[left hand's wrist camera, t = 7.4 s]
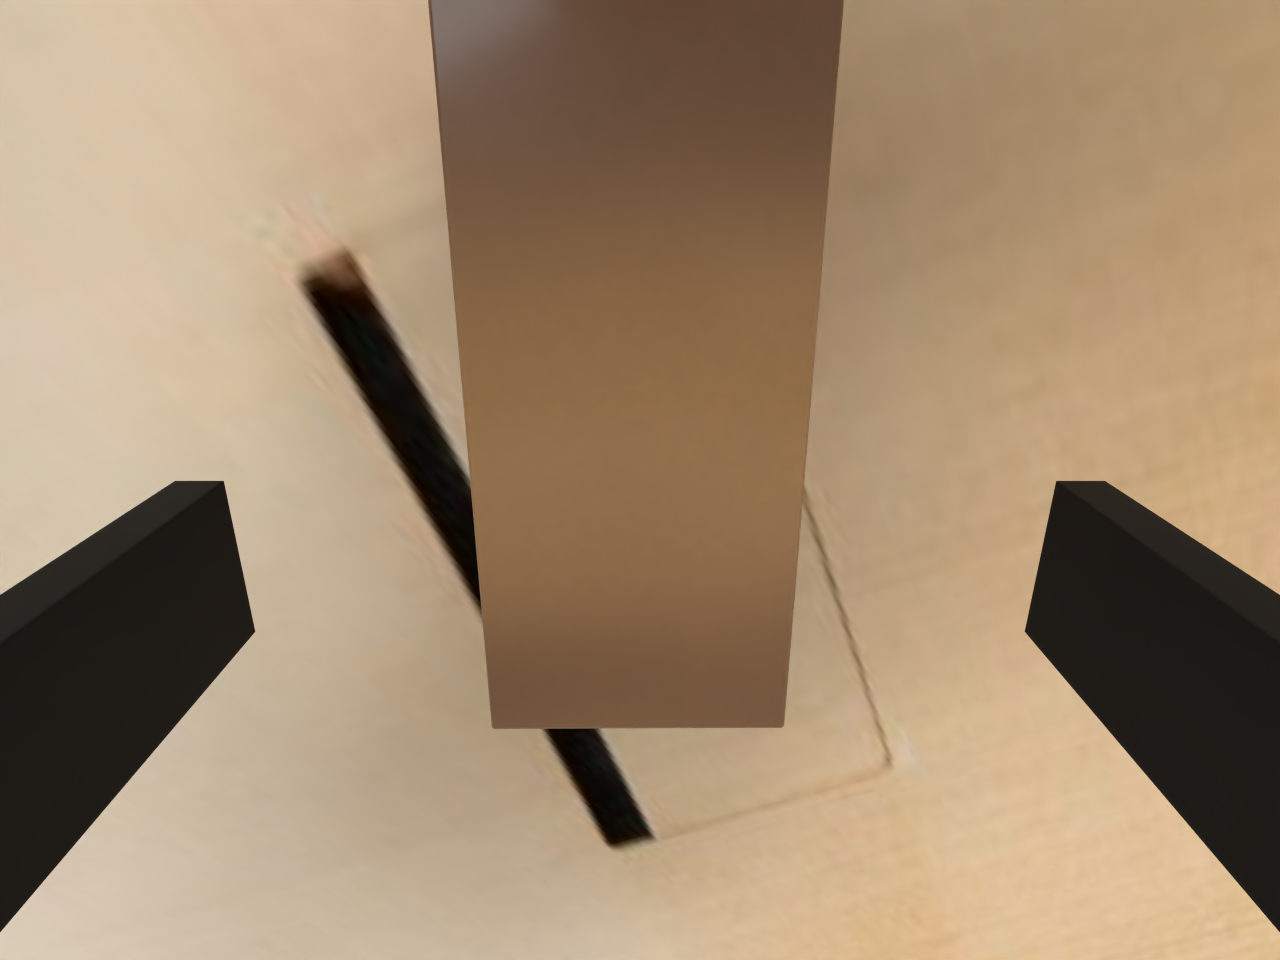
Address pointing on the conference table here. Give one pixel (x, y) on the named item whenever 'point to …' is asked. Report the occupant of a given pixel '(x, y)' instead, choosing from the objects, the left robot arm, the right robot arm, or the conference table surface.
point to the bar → (636, 342)
